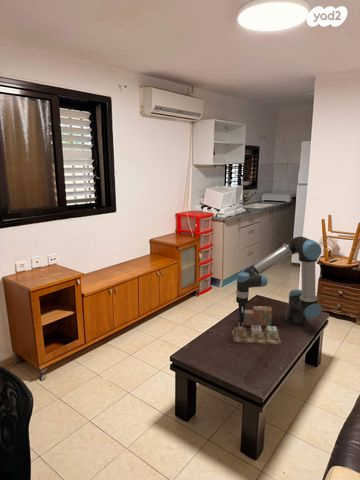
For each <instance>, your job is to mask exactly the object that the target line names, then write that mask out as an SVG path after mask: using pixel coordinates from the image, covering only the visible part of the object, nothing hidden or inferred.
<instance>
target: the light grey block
mask: <svg viewBox="0 0 360 480" xmlns="http://www.w3.org/2000/svg"><path fill="white" fill-rule="evenodd" d="M277 328H278V327H277V326H276V325H275V326H274V325H273V326H272V325H271V326H266V328H265V329H266V331H267V335H277V332H278V333H279V331H278V329H277Z"/></svg>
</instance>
